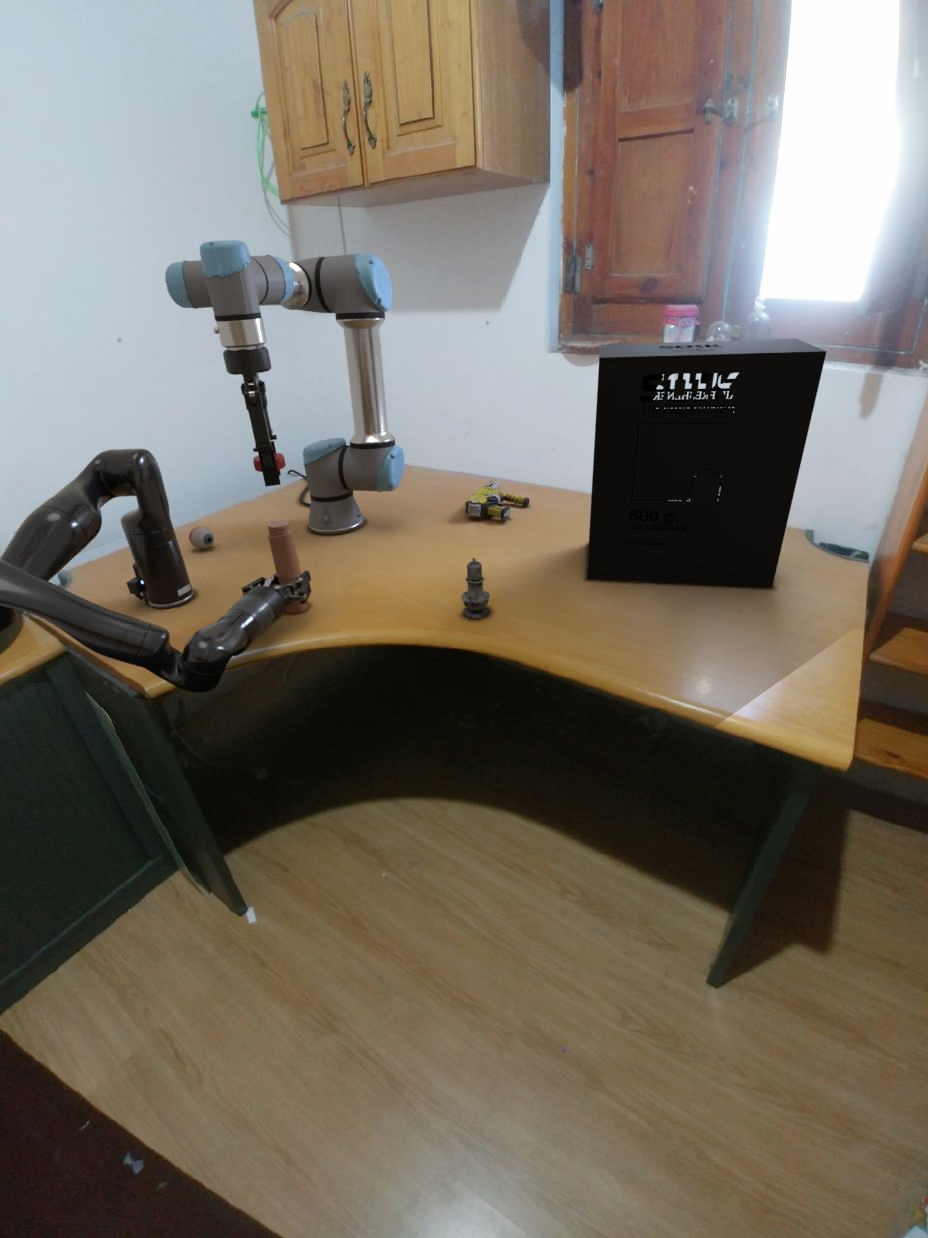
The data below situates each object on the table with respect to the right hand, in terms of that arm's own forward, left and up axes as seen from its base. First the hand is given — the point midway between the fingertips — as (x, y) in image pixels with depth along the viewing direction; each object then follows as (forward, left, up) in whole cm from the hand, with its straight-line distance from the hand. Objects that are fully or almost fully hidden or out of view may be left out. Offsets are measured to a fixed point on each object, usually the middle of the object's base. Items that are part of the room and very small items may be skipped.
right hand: (273, 479), depth 115 cm
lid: (0, 0, +4) cm, 4 cm away
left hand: (-2, +1, -21) cm, 21 cm away
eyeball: (-48, -6, -28) cm, 56 cm away
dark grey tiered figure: (+27, +27, -28) cm, 47 cm away
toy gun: (-17, +70, -28) cm, 77 cm away
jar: (0, -1, -28) cm, 28 cm away
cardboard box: (+39, +74, -28) cm, 88 cm away
